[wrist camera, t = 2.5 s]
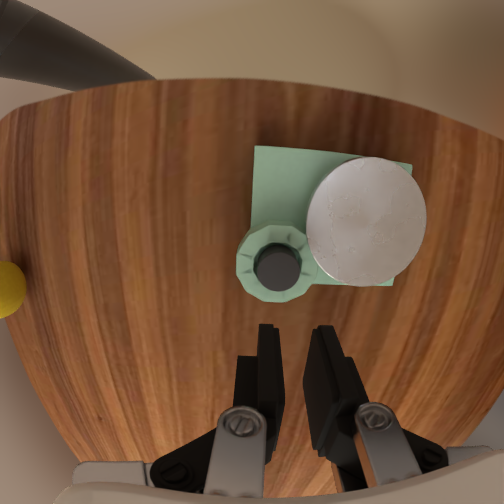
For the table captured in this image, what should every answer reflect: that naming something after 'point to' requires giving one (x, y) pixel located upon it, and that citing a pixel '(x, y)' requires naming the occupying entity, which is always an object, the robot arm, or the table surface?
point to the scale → (285, 215)
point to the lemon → (11, 288)
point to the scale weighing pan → (365, 221)
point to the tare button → (278, 268)
